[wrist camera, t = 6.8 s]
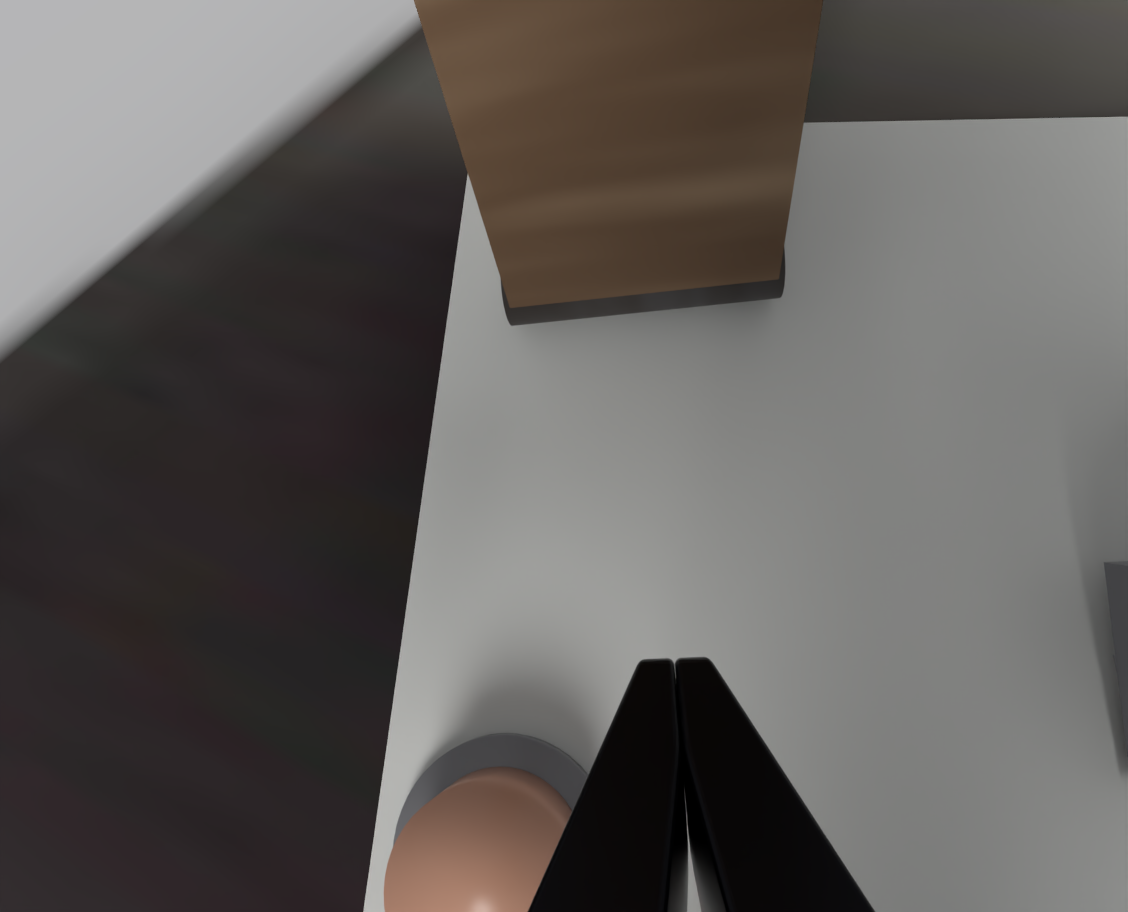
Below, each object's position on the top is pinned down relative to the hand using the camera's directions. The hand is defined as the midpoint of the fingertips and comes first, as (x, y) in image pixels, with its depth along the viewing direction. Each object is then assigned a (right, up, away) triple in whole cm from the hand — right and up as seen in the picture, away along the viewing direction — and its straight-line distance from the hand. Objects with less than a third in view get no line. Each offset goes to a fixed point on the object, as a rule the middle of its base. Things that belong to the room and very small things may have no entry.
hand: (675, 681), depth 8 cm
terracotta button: (-3, -6, +6) cm, 9 cm away
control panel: (+5, 0, +8) cm, 10 cm away
